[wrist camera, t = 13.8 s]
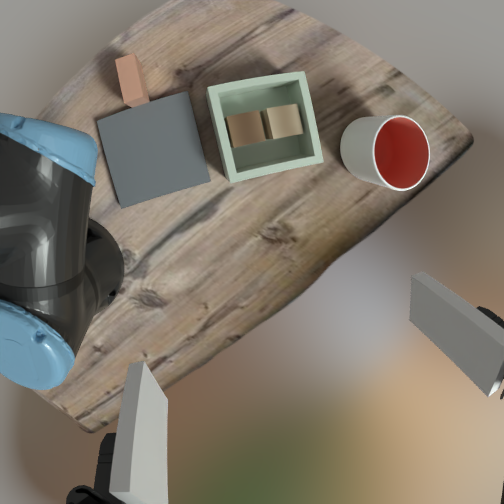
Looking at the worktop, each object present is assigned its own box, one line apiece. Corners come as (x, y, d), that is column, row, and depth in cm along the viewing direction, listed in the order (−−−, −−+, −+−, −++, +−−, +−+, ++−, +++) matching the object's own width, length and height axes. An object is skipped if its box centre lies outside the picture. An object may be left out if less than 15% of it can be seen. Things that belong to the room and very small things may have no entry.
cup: (326, 132, 41) (360, 131, 32) (376, 108, 41) (415, 105, 32) (352, 190, 45) (388, 204, 36) (397, 164, 45) (437, 172, 36)
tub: (225, 177, 41) (230, 183, 36) (205, 95, 37) (207, 87, 31) (307, 159, 42) (323, 162, 37) (290, 79, 38) (304, 71, 32)
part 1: (230, 147, 39) (233, 147, 35) (223, 119, 38) (226, 116, 34) (259, 140, 39) (265, 140, 36) (252, 113, 38) (258, 109, 34)
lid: (123, 206, 40) (112, 216, 34) (91, 83, 33) (76, 75, 27) (210, 180, 41) (212, 186, 35) (178, 54, 34) (176, 40, 28)
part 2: (266, 139, 40) (273, 139, 36) (259, 111, 38) (266, 108, 34) (293, 134, 40) (303, 133, 36) (287, 106, 38) (296, 103, 35)
